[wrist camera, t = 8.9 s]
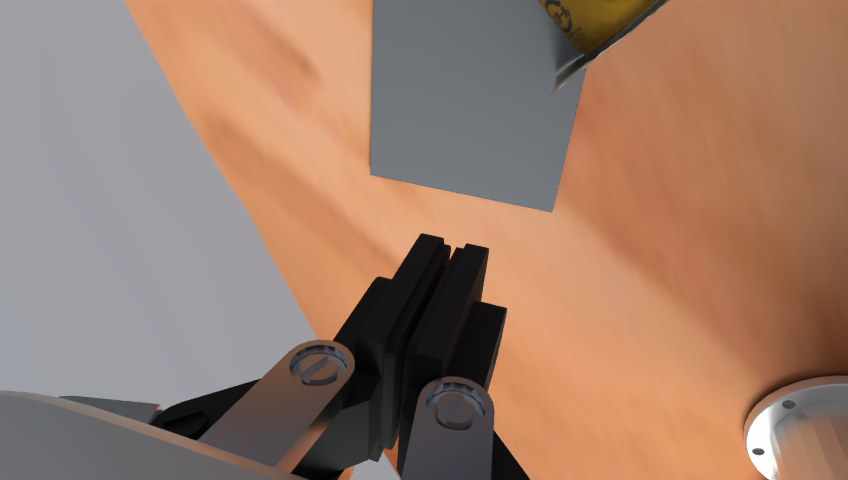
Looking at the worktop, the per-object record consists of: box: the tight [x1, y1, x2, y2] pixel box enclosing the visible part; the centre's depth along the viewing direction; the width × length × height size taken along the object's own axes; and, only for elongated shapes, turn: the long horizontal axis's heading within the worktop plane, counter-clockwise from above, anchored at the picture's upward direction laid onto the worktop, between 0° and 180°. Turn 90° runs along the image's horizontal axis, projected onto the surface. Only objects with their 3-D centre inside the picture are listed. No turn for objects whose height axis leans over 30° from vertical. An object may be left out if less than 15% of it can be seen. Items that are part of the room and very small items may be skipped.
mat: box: [370, 0, 586, 212], centre depth 34 cm, size 20×14×1 cm
